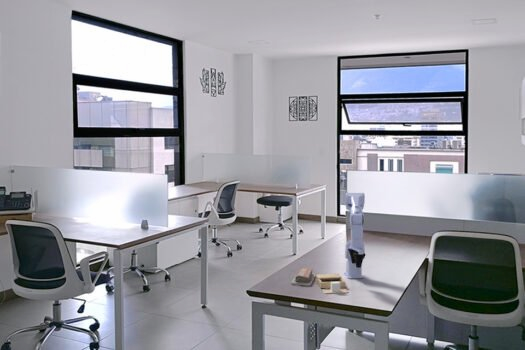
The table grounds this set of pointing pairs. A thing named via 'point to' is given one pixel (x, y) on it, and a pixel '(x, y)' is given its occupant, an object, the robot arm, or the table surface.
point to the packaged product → (303, 277)
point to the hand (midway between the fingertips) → (356, 265)
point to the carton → (329, 280)
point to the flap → (335, 288)
